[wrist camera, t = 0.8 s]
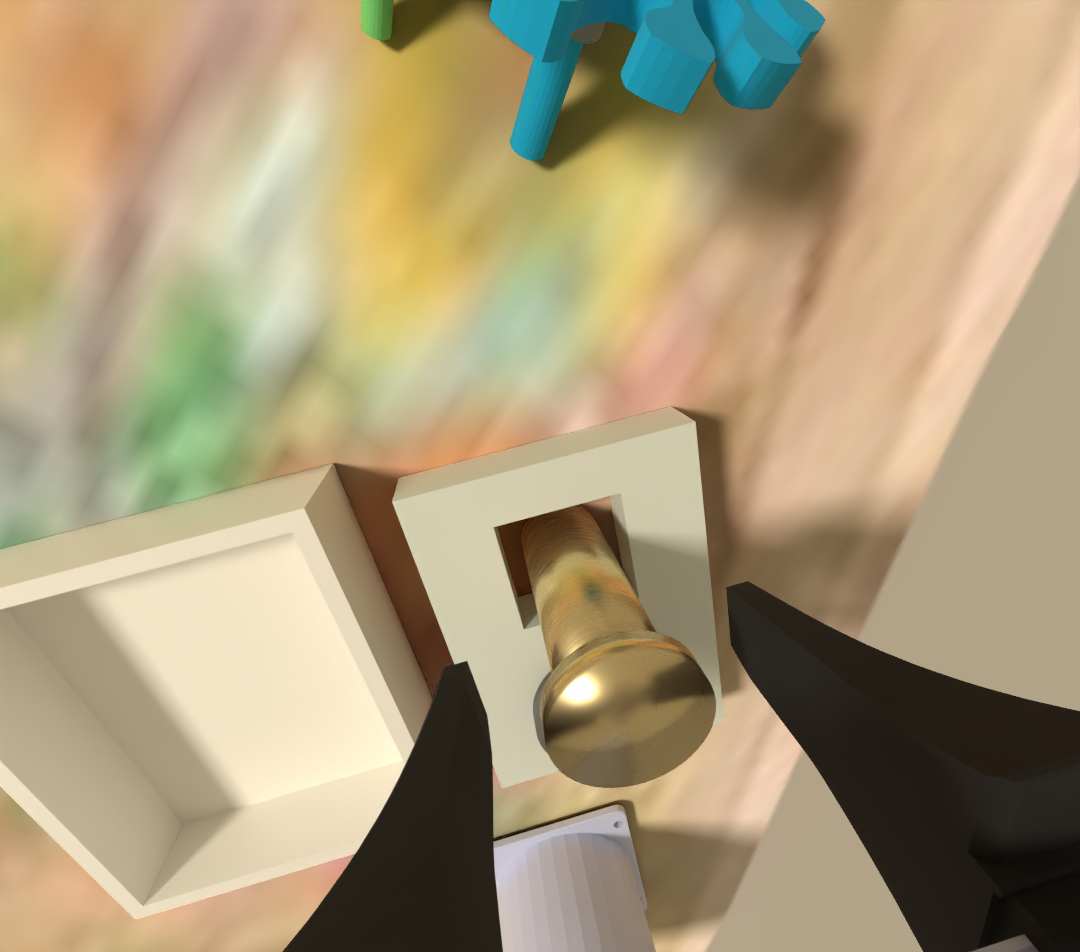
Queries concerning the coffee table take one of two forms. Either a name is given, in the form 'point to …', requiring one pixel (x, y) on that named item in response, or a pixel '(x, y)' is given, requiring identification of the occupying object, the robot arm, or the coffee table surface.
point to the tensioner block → (512, 622)
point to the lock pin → (608, 662)
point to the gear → (645, 50)
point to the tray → (205, 690)
